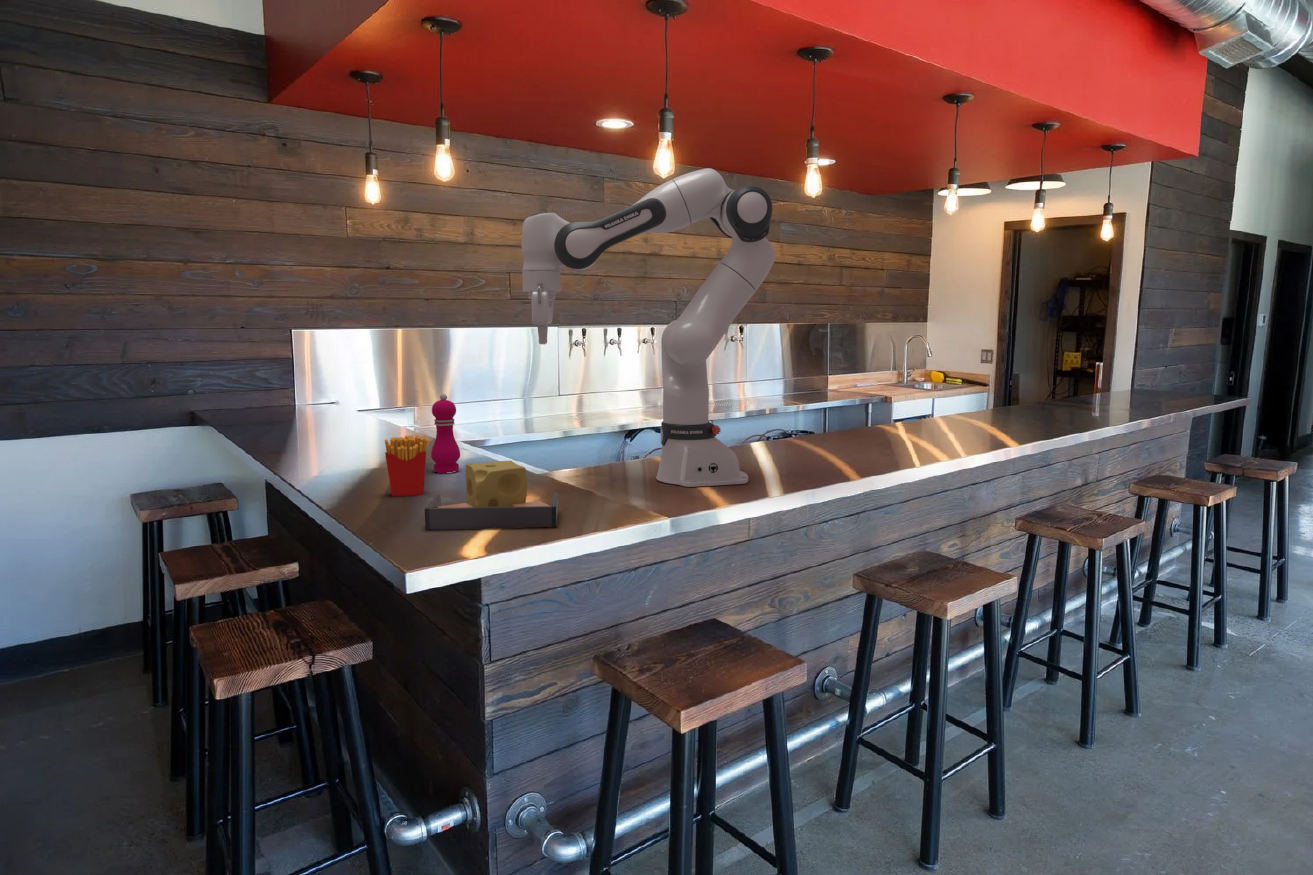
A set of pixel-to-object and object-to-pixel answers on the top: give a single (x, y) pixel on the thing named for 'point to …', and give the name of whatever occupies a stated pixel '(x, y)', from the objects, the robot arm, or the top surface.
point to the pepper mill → (444, 437)
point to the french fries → (406, 465)
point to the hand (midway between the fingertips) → (543, 344)
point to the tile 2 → (530, 504)
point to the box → (489, 516)
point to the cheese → (495, 484)
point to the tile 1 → (456, 505)
